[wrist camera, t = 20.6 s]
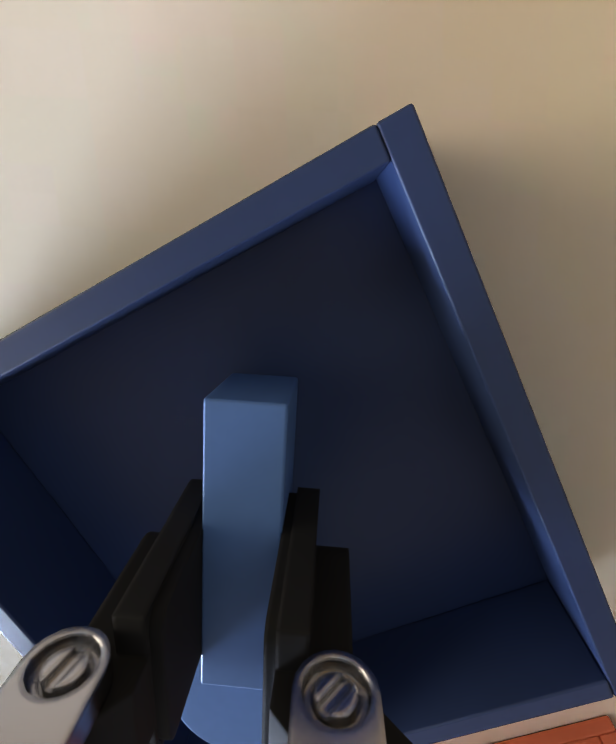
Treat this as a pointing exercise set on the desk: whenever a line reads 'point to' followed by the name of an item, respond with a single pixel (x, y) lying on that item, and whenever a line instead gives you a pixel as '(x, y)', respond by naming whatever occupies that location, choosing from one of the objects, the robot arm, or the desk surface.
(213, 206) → the desk surface
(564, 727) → the red bin
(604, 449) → the desk surface
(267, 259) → the blue bin
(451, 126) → the desk surface
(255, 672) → the blue spoon
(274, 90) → the desk surface
